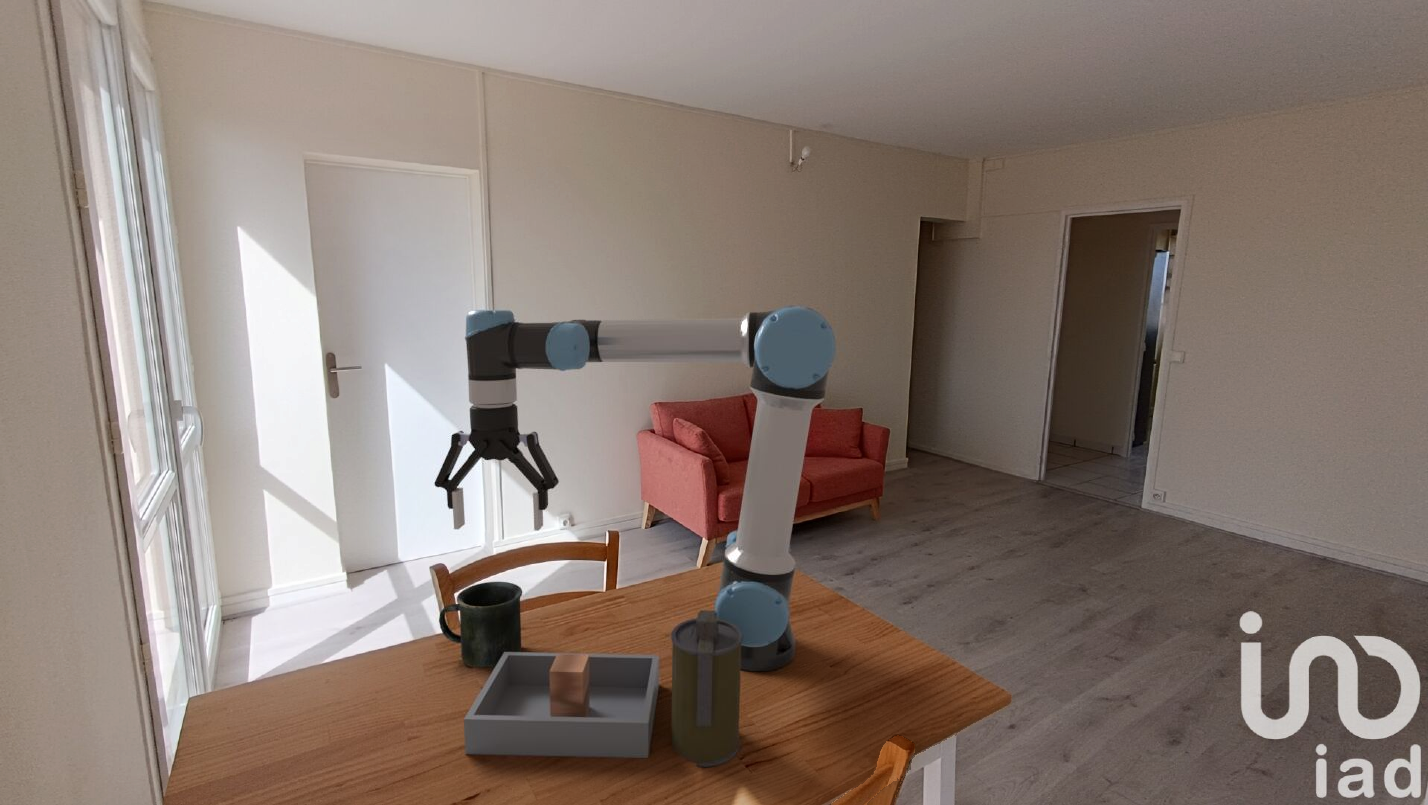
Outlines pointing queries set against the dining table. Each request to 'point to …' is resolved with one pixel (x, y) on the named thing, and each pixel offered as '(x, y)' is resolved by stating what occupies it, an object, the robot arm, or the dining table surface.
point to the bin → (522, 725)
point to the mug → (486, 622)
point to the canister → (706, 689)
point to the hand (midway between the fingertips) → (499, 527)
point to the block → (569, 686)
